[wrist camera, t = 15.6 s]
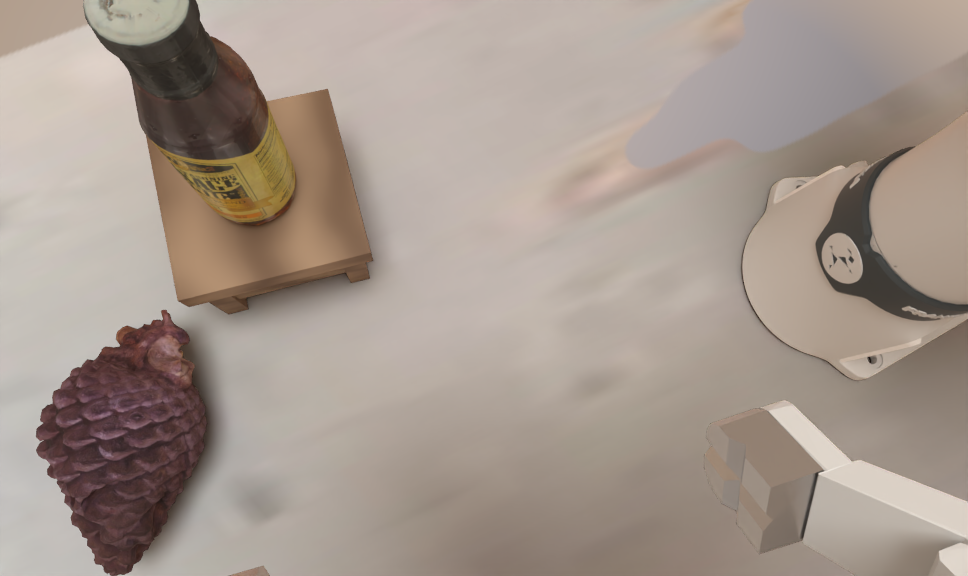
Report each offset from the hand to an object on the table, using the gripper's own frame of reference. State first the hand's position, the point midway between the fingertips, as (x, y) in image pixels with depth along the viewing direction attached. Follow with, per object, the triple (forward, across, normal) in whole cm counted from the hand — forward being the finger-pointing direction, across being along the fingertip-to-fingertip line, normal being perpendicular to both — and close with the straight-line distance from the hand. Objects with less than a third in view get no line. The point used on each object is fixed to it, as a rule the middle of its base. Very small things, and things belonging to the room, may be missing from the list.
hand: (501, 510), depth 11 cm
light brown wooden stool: (+43, +8, +13) cm, 45 cm away
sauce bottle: (+36, +8, +6) cm, 38 cm away
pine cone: (+33, +21, +23) cm, 45 cm away
